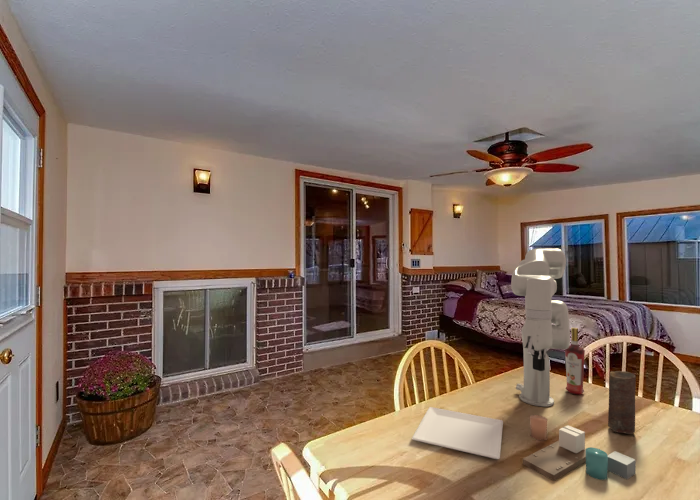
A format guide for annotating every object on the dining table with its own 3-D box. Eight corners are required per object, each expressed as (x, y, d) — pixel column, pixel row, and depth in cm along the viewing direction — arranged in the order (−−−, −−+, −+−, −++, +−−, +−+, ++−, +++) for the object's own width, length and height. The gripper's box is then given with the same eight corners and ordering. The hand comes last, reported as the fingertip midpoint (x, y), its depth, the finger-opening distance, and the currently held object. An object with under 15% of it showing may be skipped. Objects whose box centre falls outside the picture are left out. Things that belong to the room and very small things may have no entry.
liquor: (562, 392, 156) (562, 328, 156) (568, 388, 161) (567, 325, 161) (582, 397, 151) (581, 330, 151) (587, 392, 156) (586, 328, 156)
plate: (503, 425, 128) (503, 419, 128) (499, 465, 104) (499, 458, 104) (429, 411, 139) (429, 406, 139) (411, 444, 115) (411, 438, 115)
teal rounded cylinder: (582, 472, 100) (582, 450, 100) (591, 466, 103) (591, 445, 103) (602, 482, 96) (602, 459, 96) (611, 476, 98) (611, 454, 98)
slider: (559, 445, 110) (559, 429, 110) (567, 441, 113) (567, 424, 113) (576, 453, 106) (576, 436, 106) (584, 448, 109) (584, 431, 109)
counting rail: (522, 463, 104) (522, 457, 104) (562, 443, 115) (562, 438, 115) (553, 480, 96) (553, 474, 96) (593, 457, 107) (593, 451, 107)
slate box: (606, 470, 101) (606, 456, 101) (614, 464, 104) (614, 451, 104) (627, 480, 97) (627, 465, 97) (635, 474, 99) (635, 459, 99)
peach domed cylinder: (527, 435, 120) (527, 417, 120) (535, 431, 123) (535, 413, 123) (541, 441, 116) (541, 423, 116) (550, 437, 119) (550, 419, 119)
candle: (640, 438, 118) (640, 377, 118) (615, 436, 119) (615, 376, 120) (627, 427, 125) (627, 370, 126) (603, 425, 127) (603, 368, 127)
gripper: (540, 310, 127) (540, 363, 127) (514, 314, 119) (514, 370, 119) (562, 314, 120) (562, 369, 120) (536, 318, 112) (536, 377, 112)
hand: (538, 369), depth 119 cm, fingers closed
